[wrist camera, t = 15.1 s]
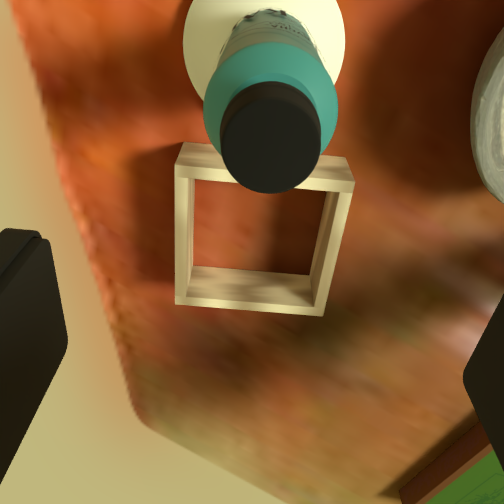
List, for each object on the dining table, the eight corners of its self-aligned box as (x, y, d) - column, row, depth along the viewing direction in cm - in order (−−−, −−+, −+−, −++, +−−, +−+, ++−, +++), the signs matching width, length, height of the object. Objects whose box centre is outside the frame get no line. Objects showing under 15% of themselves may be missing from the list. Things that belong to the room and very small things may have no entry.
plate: (358, -36, 31) (361, -36, 30) (326, 132, 38) (328, 136, 37) (185, -56, 31) (183, -56, 30) (184, 118, 37) (182, 122, 37)
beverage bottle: (297, 106, 36) (328, 242, 19) (215, 85, 35) (173, 208, 18) (324, 16, 32) (391, 87, 15) (234, -9, 31) (201, 37, 15)
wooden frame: (345, 157, 39) (355, 181, 35) (317, 283, 47) (322, 316, 43) (183, 141, 38) (174, 164, 34) (182, 272, 46) (175, 304, 42)
